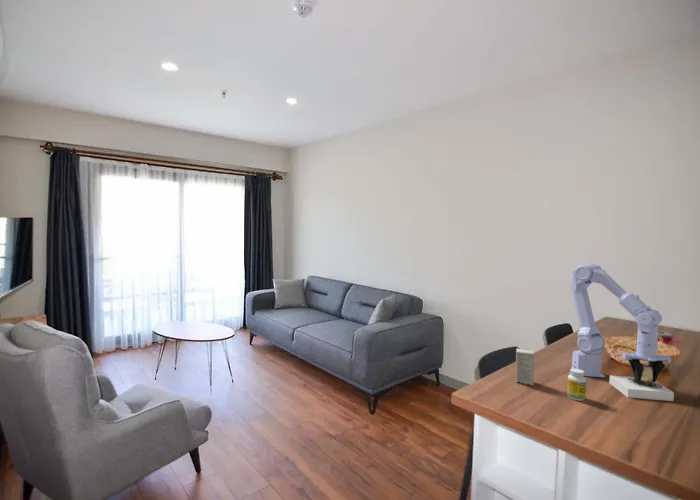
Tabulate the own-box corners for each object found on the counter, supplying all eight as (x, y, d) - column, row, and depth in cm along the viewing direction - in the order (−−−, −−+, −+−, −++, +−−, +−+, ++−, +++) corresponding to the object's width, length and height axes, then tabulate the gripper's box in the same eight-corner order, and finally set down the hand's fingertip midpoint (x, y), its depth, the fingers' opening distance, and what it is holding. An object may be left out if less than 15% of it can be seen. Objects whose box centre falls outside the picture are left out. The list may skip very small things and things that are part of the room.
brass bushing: (641, 389, 130) (642, 367, 129) (634, 383, 134) (635, 362, 134) (655, 390, 129) (656, 368, 129) (647, 384, 133) (648, 363, 133)
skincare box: (533, 381, 139) (534, 350, 138) (533, 386, 135) (535, 353, 134) (515, 378, 141) (516, 347, 141) (514, 382, 137) (516, 351, 137)
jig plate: (627, 397, 126) (628, 388, 126) (609, 383, 138) (609, 375, 138) (673, 401, 124) (673, 392, 124) (650, 386, 136) (651, 378, 136)
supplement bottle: (571, 392, 129) (572, 366, 129) (588, 398, 125) (589, 371, 124) (563, 396, 126) (565, 369, 126) (580, 402, 122) (581, 374, 121)
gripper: (630, 345, 128) (628, 383, 129) (678, 348, 126) (675, 386, 126) (619, 339, 135) (617, 375, 136) (664, 342, 132) (661, 378, 133)
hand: (644, 380), depth 131 cm, fingers closed on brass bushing, 4 cm apart
